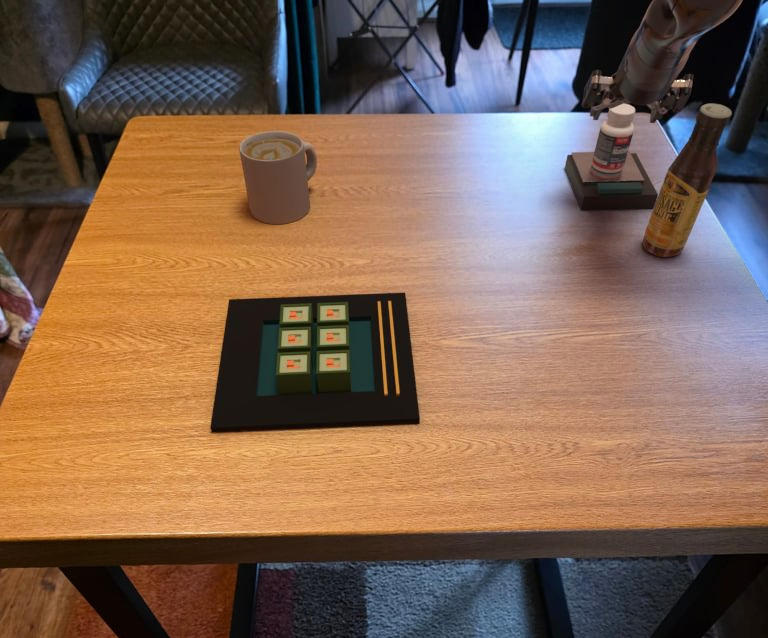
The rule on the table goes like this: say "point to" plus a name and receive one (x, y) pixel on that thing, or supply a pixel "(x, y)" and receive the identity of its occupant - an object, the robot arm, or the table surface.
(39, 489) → the table surface
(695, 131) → the sauce bottle
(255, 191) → the coffee mug
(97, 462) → the table surface
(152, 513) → the table surface
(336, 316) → the sushi
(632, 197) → the scale
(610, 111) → the pill bottle
